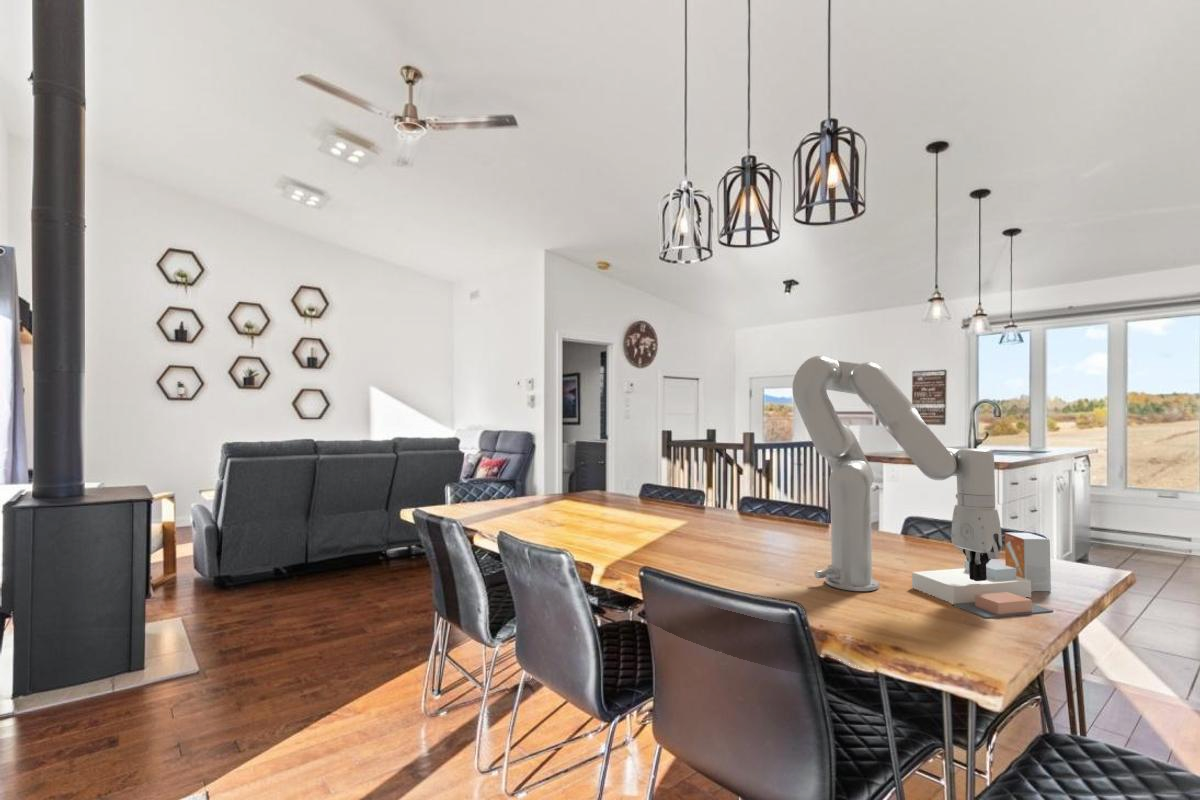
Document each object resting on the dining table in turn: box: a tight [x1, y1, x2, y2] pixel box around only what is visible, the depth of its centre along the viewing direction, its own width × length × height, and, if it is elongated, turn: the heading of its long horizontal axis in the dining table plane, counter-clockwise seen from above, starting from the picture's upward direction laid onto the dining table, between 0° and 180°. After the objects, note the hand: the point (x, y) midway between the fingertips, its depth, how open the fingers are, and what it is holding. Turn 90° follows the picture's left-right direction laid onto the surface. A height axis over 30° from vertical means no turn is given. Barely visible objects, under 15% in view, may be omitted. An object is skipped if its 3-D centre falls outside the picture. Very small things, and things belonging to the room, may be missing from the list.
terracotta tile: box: [975, 592, 1033, 615], centre depth 132 cm, size 9×6×2 cm, turn 103°
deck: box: [911, 567, 1032, 604], centre depth 145 cm, size 22×13×4 cm, turn 103°
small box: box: [1004, 532, 1052, 593], centre depth 149 cm, size 8×6×13 cm
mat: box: [951, 602, 1054, 619], centre depth 133 cm, size 18×9×1 cm, turn 103°
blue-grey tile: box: [964, 560, 1016, 580], centre depth 146 cm, size 9×6×2 cm, turn 13°
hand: (978, 579), depth 138 cm, fingers closed
